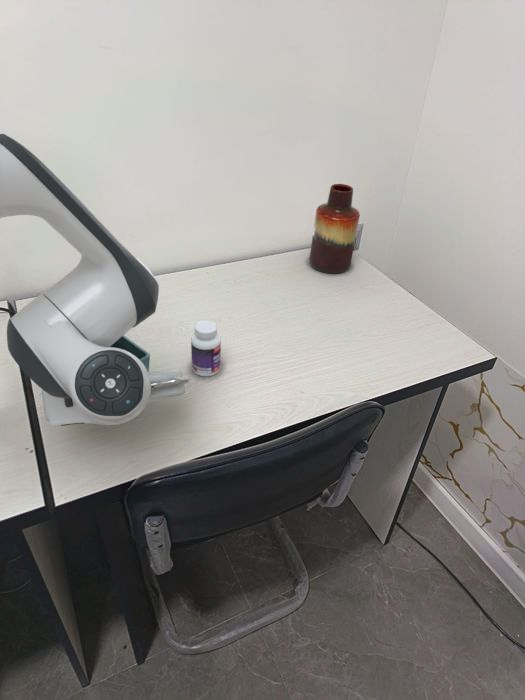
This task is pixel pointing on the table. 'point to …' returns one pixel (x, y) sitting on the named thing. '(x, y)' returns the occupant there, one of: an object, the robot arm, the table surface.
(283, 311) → the table surface
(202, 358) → the pill bottle
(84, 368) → the robot arm
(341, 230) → the vase
